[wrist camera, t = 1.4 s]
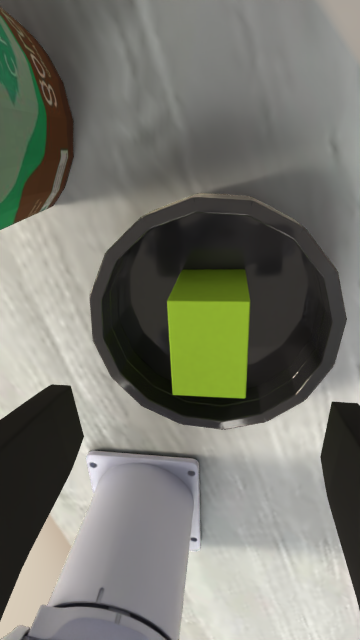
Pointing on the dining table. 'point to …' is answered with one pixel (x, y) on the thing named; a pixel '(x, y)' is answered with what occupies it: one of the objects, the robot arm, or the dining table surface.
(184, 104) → the dining table surface
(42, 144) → the food container
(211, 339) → the green block
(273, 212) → the bowl
